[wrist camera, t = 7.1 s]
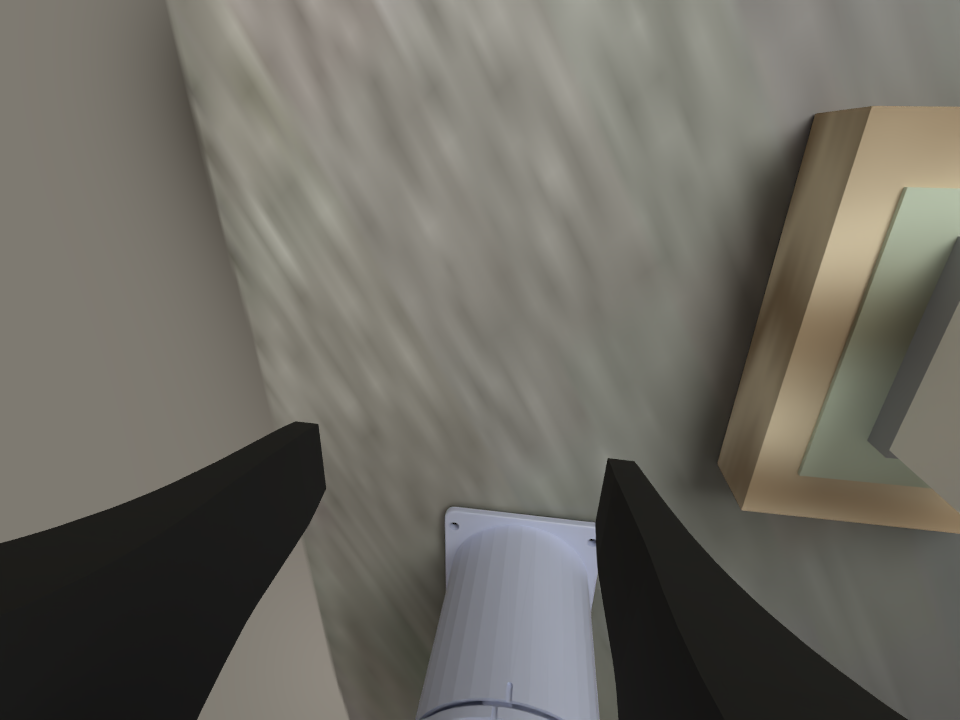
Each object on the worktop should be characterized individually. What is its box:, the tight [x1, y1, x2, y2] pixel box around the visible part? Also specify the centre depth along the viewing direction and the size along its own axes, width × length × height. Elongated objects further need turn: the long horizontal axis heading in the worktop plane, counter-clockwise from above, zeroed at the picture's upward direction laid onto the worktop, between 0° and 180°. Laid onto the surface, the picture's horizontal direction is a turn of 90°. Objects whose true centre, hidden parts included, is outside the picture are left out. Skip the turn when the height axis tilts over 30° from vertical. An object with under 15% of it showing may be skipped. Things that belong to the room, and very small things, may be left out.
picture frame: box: [717, 106, 960, 534], centre depth 16 cm, size 14×11×3 cm
